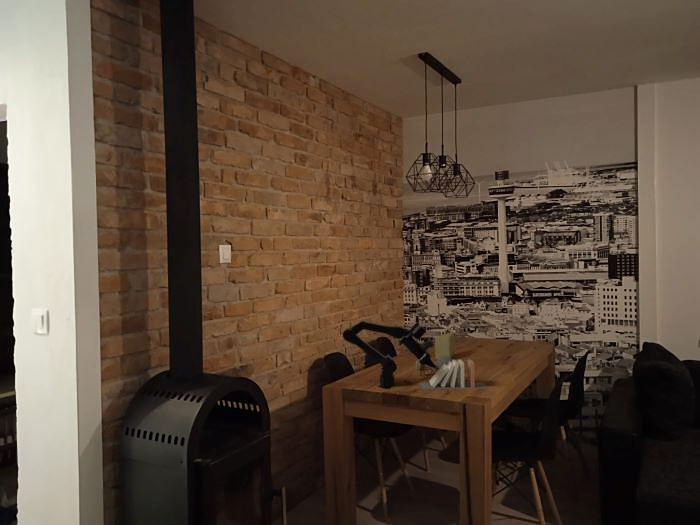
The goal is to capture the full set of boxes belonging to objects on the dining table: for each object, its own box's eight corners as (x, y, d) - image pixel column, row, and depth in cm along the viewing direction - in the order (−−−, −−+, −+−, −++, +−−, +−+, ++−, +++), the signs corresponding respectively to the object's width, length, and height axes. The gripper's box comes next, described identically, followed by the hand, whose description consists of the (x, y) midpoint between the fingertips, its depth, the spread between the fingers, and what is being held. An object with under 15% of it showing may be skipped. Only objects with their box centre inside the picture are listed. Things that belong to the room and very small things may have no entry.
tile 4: (461, 387, 281) (460, 363, 280) (457, 383, 290) (457, 359, 290) (464, 387, 281) (464, 363, 280) (461, 383, 290) (460, 359, 290)
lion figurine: (418, 377, 306) (418, 361, 306) (413, 376, 311) (413, 359, 311) (441, 375, 312) (441, 358, 312) (436, 373, 317) (436, 357, 317)
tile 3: (450, 387, 281) (455, 363, 280) (448, 382, 290) (452, 359, 290) (454, 387, 281) (458, 363, 280) (451, 383, 290) (455, 360, 290)
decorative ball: (454, 375, 310) (454, 357, 310) (435, 375, 312) (435, 357, 312) (454, 371, 320) (454, 354, 320) (436, 371, 322) (436, 353, 322)
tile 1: (431, 385, 281) (447, 367, 281) (429, 381, 291) (444, 363, 290) (433, 387, 281) (449, 369, 281) (431, 383, 291) (446, 365, 290)
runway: (422, 389, 279) (422, 388, 279) (419, 383, 292) (419, 382, 292) (488, 389, 279) (488, 388, 279) (482, 383, 292) (482, 382, 292)
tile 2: (441, 386, 281) (451, 364, 280) (438, 381, 290) (449, 360, 290) (444, 387, 281) (454, 365, 280) (441, 383, 290) (451, 362, 290)
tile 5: (471, 387, 280) (471, 363, 280) (467, 383, 290) (467, 359, 290) (474, 387, 280) (474, 363, 280) (470, 383, 290) (470, 359, 290)
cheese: (446, 353, 377) (446, 331, 377) (460, 354, 373) (460, 331, 372) (434, 359, 358) (434, 335, 358) (449, 360, 353) (449, 336, 353)
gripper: (426, 336, 276) (449, 359, 276) (422, 331, 295) (443, 352, 295) (409, 353, 276) (433, 375, 276) (407, 346, 295) (428, 367, 295)
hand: (435, 367), depth 285 cm, fingers closed
